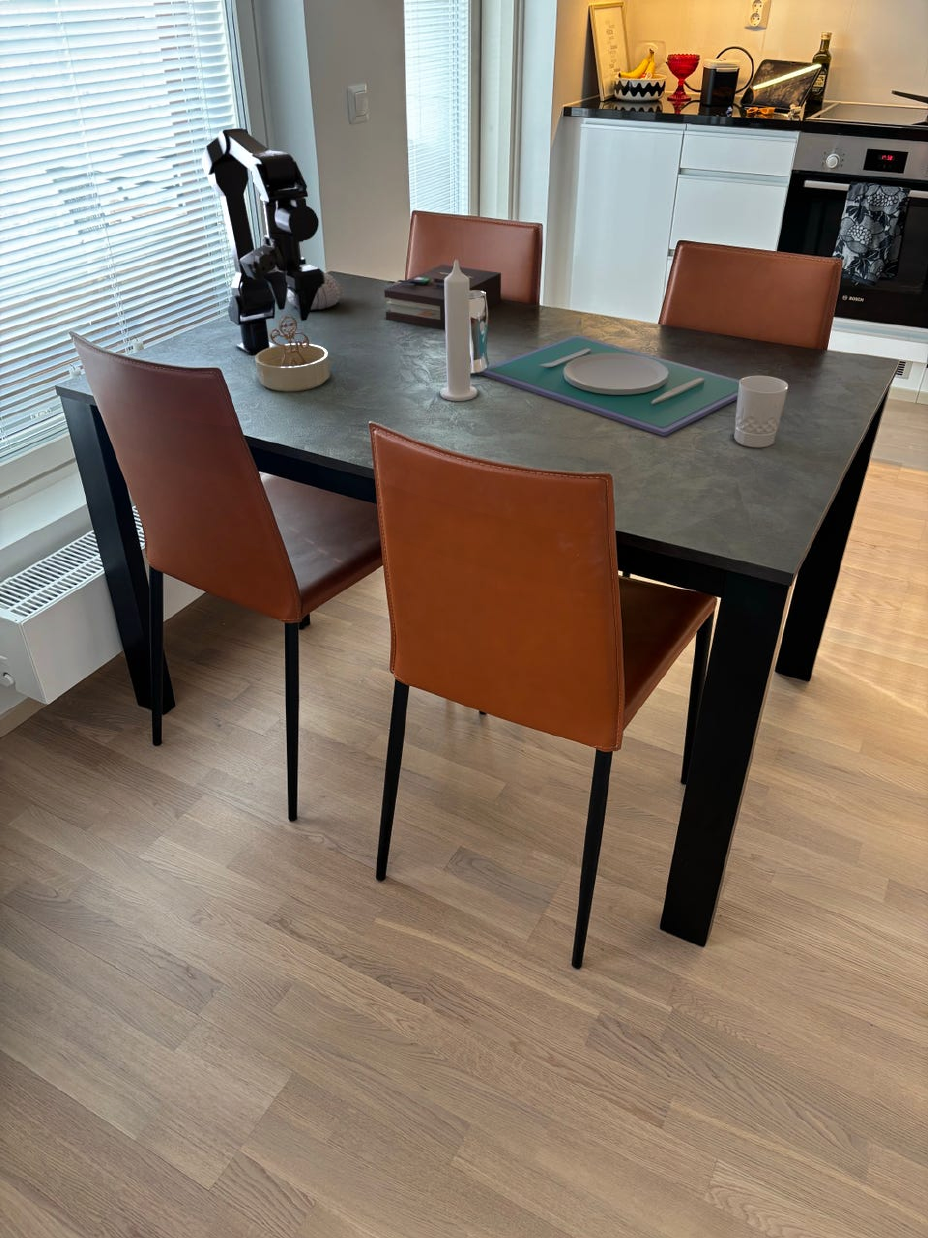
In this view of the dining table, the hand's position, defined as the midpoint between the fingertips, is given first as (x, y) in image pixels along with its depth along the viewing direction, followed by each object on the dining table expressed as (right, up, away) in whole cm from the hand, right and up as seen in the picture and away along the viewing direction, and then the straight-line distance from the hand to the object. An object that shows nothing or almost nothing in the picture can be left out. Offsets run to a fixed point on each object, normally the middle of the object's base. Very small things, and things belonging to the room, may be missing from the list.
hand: (292, 314), depth 182 cm
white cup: (+83, -28, -21) cm, 90 cm away
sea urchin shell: (-3, +18, +49) cm, 52 cm away
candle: (+32, -16, -1) cm, 36 cm away
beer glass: (+36, -9, +9) cm, 38 cm away
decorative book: (+29, +15, +44) cm, 54 cm away
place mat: (+63, -12, +3) cm, 64 cm away
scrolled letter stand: (-1, -10, +7) cm, 12 cm away
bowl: (-1, -11, +7) cm, 13 cm away
